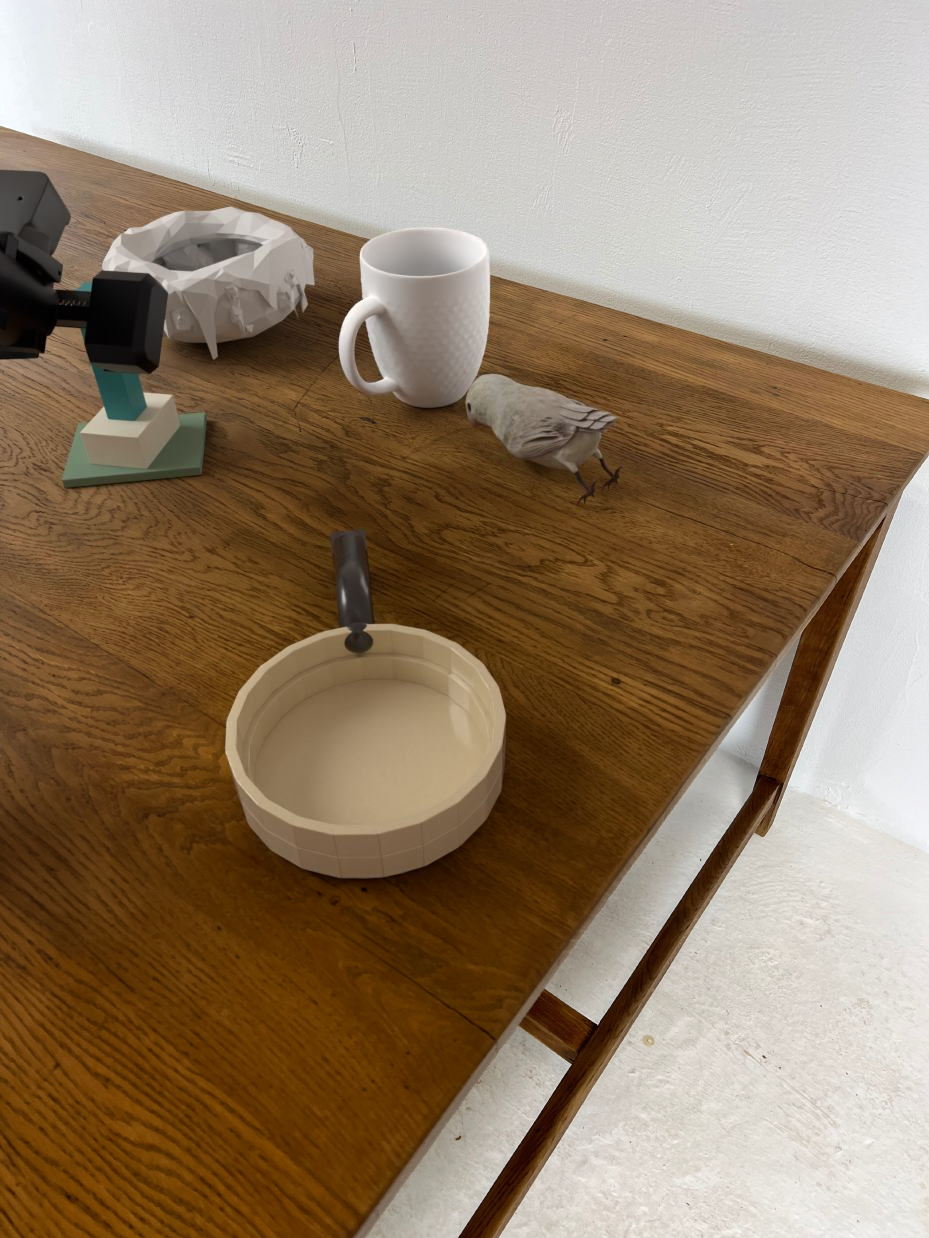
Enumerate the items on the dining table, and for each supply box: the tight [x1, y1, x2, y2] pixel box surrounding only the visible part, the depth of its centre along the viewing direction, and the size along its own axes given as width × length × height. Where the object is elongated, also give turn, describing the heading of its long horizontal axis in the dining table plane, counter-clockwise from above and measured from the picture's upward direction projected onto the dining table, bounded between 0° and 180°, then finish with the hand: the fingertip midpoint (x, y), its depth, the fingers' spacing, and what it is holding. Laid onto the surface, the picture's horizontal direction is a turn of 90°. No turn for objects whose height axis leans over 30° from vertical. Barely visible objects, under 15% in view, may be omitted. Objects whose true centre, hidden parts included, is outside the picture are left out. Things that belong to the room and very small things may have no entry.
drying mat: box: [61, 411, 208, 489], centre depth 80 cm, size 11×9×1 cm
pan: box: [224, 623, 507, 879], centre depth 53 cm, size 15×15×4 cm
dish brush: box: [75, 281, 180, 469], centre depth 75 cm, size 7×5×14 cm
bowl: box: [101, 206, 316, 361], centre depth 94 cm, size 21×20×10 cm
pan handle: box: [330, 528, 376, 654], centre depth 62 cm, size 2×12×5 cm, turn 9°
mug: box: [338, 226, 491, 409], centre depth 82 cm, size 15×11×13 cm
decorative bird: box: [465, 373, 624, 507], centre depth 75 cm, size 5×16×8 cm, turn 41°
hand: (92, 355), depth 71 cm, fingers open, 9 cm apart
